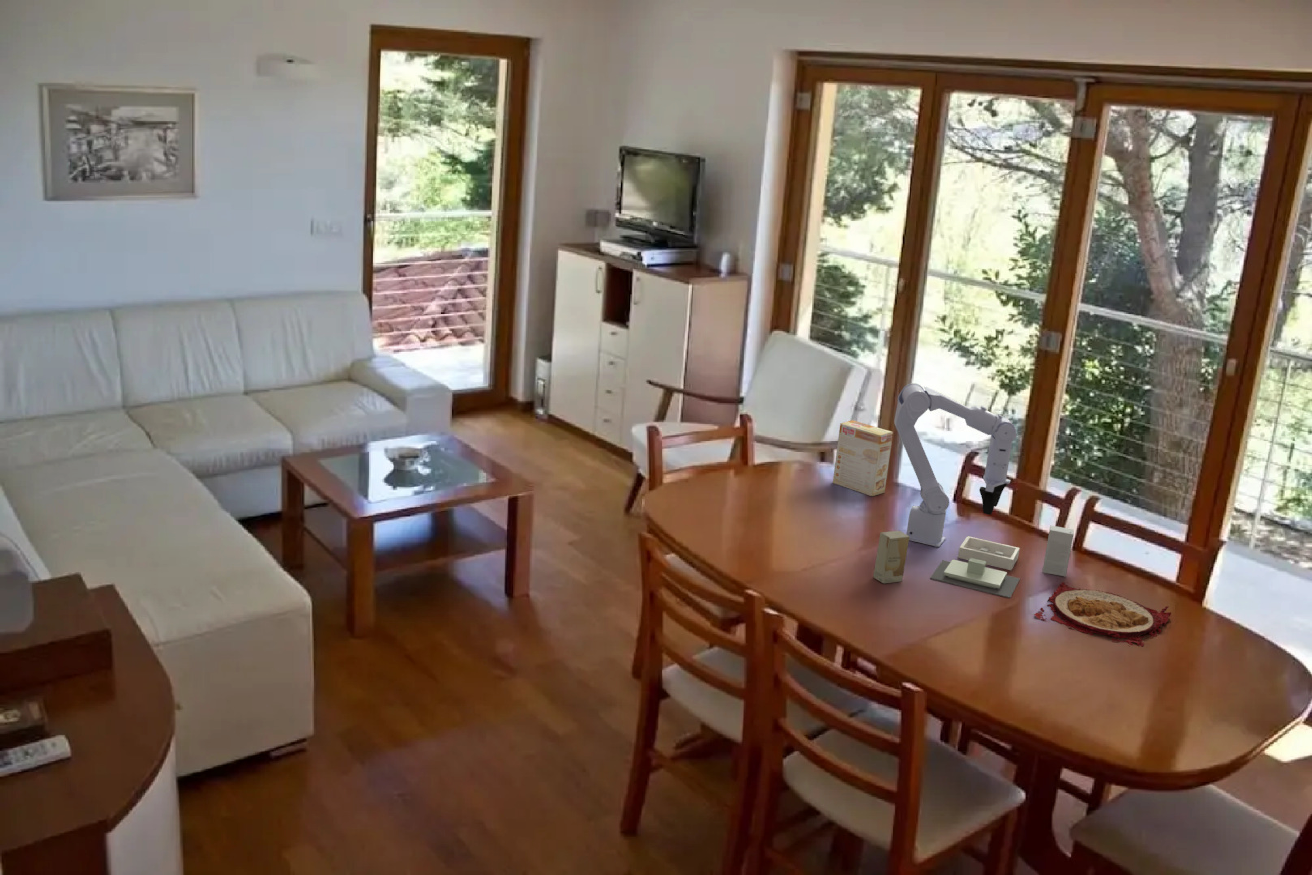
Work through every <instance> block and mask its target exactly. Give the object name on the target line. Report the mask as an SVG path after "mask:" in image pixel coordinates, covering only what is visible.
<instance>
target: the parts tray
mask: <svg viewBox="0 0 1312 875" xmlns="http://www.w3.org/2000/svg"><path fill="white" fill-rule="evenodd" d="M1020 550H1021V548H1020V547H1018V546H1017V547H1016V546H1013V545H1009V544H1006V543H1005V544H1003V543H1000V542H996V541H991V540H986V539H981V538H979V537H978V538H977V537H974V536H973V537H972V536H969V535H968V536H966V537H965V539H964V540H963V542H962V543H961V545H960V546H959V550H958V555H957V558H958V559H961V560H965V561H969V560H970V558H974V559H978V560H982V561H986V566H990V567H991V566H992V567H995V568H999V569H1004V570H1009V571H1012V570H1013V568H1014V567H1015V565H1016V563H1017V561H1018V558H1019V555H1020Z"/></svg>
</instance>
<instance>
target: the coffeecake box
mask: <svg viewBox="0 0 1312 875" xmlns="http://www.w3.org/2000/svg"><path fill="white" fill-rule="evenodd" d="M838 431H839V432H838V437H837V446H836V453H835V454H836V455H835V462H834V470H833V477H832V484H835V485H837V486H840V487H843V488H847V489H848V490H849V489H850V490H852V491H856V492H858V493H860V494H864V495H866V496H870V497H875V496H877V495H882V494H884V493H885V491H886V485H887V478H888V471H889V470H888V469H889V462H890V456H891V450H892V442H893V434H894V431H891V430H887V429H884V428H880V427H877V426H874V425H870V424H866V423H864V422H860V421H856V420H854V419H851V420H848V421H845V422H844V421H843V422H840V423H839V430H838Z"/></svg>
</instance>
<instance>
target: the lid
mask: <svg viewBox="0 0 1312 875" xmlns="http://www.w3.org/2000/svg"><path fill="white" fill-rule="evenodd" d="M967 561H968V562H966V561H961V560H957V559H952V560H951V561H949V562H950V564H949V565H948V567H947V568H946V570H945V571H944V574H943V575H946V576H948V577H949V578H953V579H957V580H961V581H965V582H969V583H974V584H978V585H982V586H986V587H990V588H994V589H995V588H1000V586H1001V584H1002V582H1003V581H1004V579H1005V577H1006V575H1007V574H1008V571H1004V570H999V569H995V568H992V567H991V568H990V567H986V566H987V565H986V561H982V560H978V559H974V558H970V560H967Z"/></svg>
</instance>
